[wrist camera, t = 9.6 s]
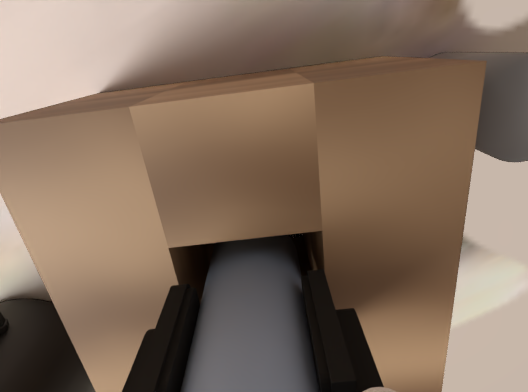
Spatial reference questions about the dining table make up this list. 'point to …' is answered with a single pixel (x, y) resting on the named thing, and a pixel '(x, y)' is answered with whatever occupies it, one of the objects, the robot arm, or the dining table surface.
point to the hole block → (254, 198)
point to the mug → (37, 350)
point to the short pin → (501, 104)
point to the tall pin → (252, 322)
